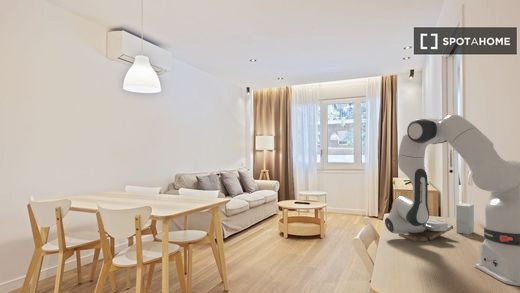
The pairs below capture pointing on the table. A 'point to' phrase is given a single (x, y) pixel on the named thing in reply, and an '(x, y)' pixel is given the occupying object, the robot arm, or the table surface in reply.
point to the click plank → (434, 233)
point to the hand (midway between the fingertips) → (440, 222)
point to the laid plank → (414, 237)
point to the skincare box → (465, 218)
